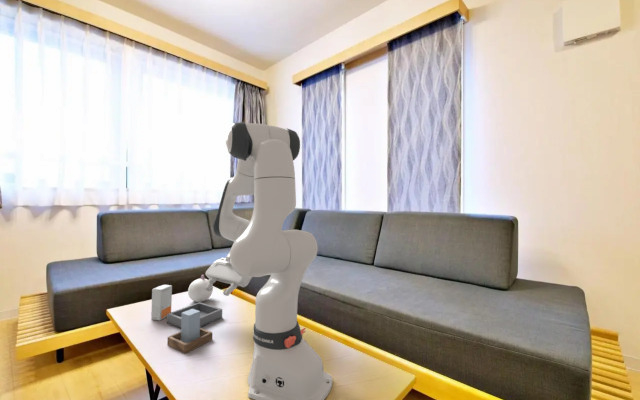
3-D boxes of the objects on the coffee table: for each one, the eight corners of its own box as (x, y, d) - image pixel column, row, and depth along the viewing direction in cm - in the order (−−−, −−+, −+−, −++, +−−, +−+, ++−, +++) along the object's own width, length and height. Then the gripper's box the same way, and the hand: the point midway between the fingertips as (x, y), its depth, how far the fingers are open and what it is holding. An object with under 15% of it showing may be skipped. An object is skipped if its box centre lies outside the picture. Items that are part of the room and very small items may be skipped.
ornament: (217, 298, 128) (217, 273, 128) (201, 306, 118) (202, 279, 119) (199, 295, 131) (199, 271, 131) (182, 303, 122) (183, 276, 122)
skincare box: (160, 320, 104) (160, 289, 104) (150, 319, 105) (151, 288, 105) (171, 314, 110) (172, 285, 110) (162, 313, 111) (163, 284, 111)
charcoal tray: (222, 317, 107) (222, 309, 107) (190, 332, 95) (190, 322, 95) (199, 310, 114) (199, 302, 114) (166, 323, 102) (167, 313, 102)
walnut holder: (212, 339, 91) (212, 332, 91) (185, 353, 82) (185, 345, 82) (194, 332, 95) (194, 325, 95) (167, 344, 87) (167, 337, 87)
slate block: (199, 341, 90) (200, 311, 90) (188, 346, 86) (189, 315, 86) (192, 338, 92) (192, 308, 92) (180, 343, 88) (181, 312, 88)
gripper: (215, 252, 109) (192, 282, 101) (252, 258, 99) (231, 293, 91) (223, 261, 113) (203, 291, 105) (260, 268, 103) (240, 302, 94)
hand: (216, 292), depth 98 cm, fingers open, 8 cm apart
